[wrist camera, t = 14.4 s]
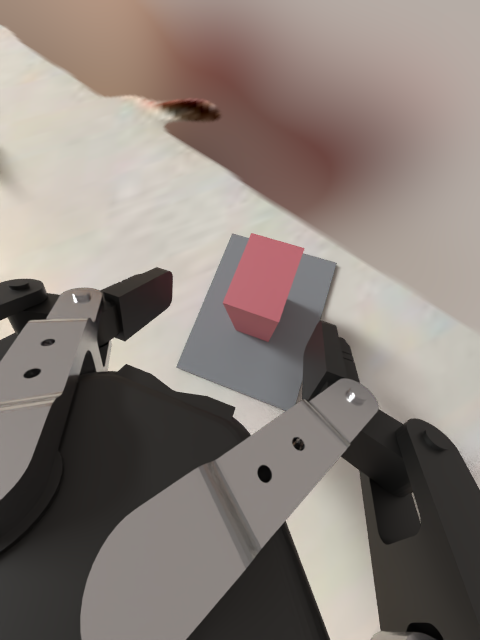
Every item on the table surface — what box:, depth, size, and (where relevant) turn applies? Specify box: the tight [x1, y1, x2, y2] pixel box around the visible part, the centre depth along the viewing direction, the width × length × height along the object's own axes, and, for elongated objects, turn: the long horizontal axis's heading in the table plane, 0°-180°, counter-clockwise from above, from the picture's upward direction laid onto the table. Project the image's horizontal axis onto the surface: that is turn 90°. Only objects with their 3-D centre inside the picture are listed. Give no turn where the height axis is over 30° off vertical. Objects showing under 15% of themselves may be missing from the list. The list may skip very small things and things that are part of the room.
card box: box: [223, 233, 304, 342], centre depth 17 cm, size 4×5×9 cm
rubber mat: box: [177, 234, 337, 411], centre depth 21 cm, size 12×16×1 cm
